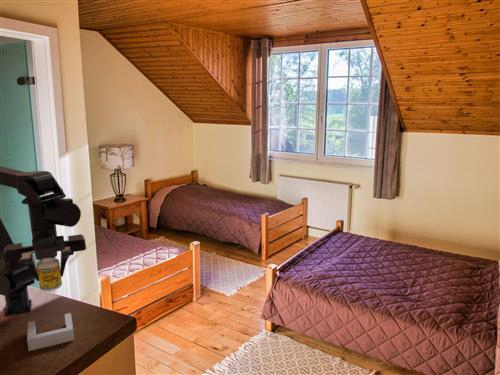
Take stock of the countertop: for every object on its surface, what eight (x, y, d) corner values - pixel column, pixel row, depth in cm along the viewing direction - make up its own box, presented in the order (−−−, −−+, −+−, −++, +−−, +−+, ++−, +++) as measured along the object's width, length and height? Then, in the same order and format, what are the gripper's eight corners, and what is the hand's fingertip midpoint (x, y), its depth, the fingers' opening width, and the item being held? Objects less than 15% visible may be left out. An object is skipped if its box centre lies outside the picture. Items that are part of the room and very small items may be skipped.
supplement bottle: (60, 280, 114) (56, 247, 112) (64, 288, 110) (59, 254, 107) (38, 286, 111) (33, 252, 109) (41, 294, 107) (36, 258, 104)
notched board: (29, 332, 106) (28, 322, 106) (72, 323, 111) (70, 312, 110) (28, 351, 99) (27, 339, 98) (74, 340, 103) (73, 329, 102)
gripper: (-3, 237, 95) (7, 299, 99) (85, 225, 103) (91, 283, 107) (1, 223, 105) (10, 280, 108) (81, 213, 113) (86, 267, 116)
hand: (50, 278), depth 110 cm, fingers closed on supplement bottle, 5 cm apart
